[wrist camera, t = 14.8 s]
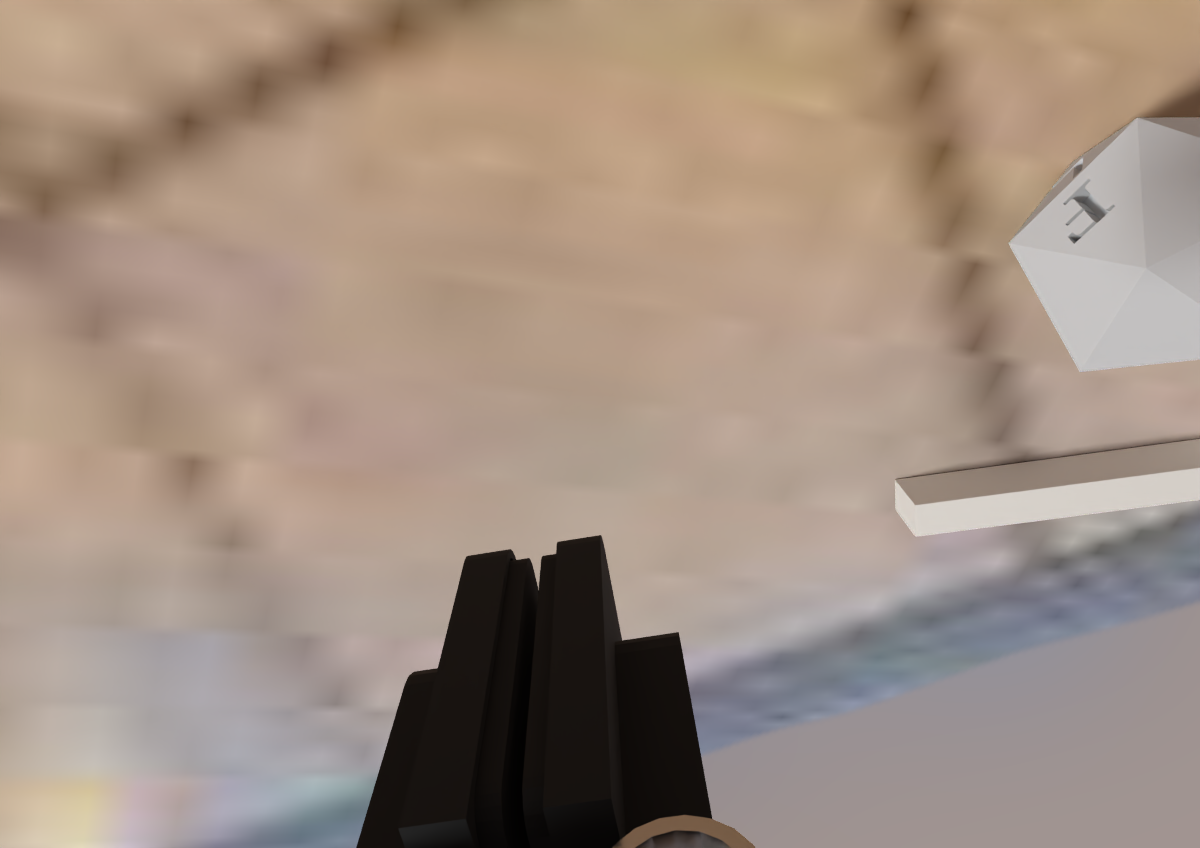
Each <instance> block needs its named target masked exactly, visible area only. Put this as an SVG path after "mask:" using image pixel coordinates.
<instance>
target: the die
mask: <svg viewBox="0 0 1200 848" xmlns="http://www.w3.org/2000/svg"><path fill="white" fill-rule="evenodd" d="M1008 244H1009V245H1010V247H1011V249H1012V251H1013V253H1014V254H1015V256H1016V258H1017V260H1018V262H1019V263H1020V265H1021V267H1022V269H1023V271H1024V272H1025V274H1026V276H1027V278H1028V280H1029V281H1030V283H1031V285H1032V287H1033V289H1034V290H1035V292H1036V294H1037V296H1038V298H1039V299H1040V301H1041V303H1042V305H1043V307H1044V308H1045V310H1046V312H1047V314H1048V315H1049V317H1050V319H1051V321H1052V323H1053V324H1054V326H1055V328H1056V330H1057V332H1058V333H1059V335H1060V337H1061V339H1062V341H1063V342H1064V344H1065V346H1066V348H1067V350H1068V351H1069V353H1070V355H1071V357H1072V359H1073V360H1074V362H1075V364H1076V366H1077V368H1078V369H1079V371H1080V372H1084V371H1094V370H1104V369H1113V368H1123V367H1132V366H1142V365H1151V364H1161V363H1170V362H1180V361H1189V360H1199V359H1200V117H1162V118H1136V119H1134V120H1133V121H1132V122H1130V123H1129V124H1127V125H1126V126H1124V127H1123V128H1121V129H1120V130H1118V131H1117V132H1115V133H1114V134H1112V135H1111V136H1109V137H1108V138H1107V139H1105V140H1104V141H1102V142H1101V143H1099V144H1098V145H1096V146H1095V147H1093V148H1092V149H1090V150H1089V151H1087V152H1086V153H1085V154H1083V155H1082V156H1080V157H1079V158H1077V159H1076V160H1074V161H1073V162H1072V163H1071V164H1070V165H1069V167H1068V168H1067V169H1066V171H1065V172H1064V173H1063V174H1062V176H1061V177H1060V178H1059V179H1058V181H1057V182H1056V183H1055V185H1054V186H1053V188H1052V189H1051V190H1050V191H1049V192H1048V193H1047V195H1046V196H1045V197H1044V199H1043V200H1042V201H1041V202H1040V204H1039V205H1038V206H1037V208H1036V209H1035V210H1034V211H1033V213H1032V214H1031V215H1030V216H1029V218H1028V219H1027V220H1026V222H1025V223H1024V224H1023V225H1022V227H1021V228H1020V229H1019V230H1018V232H1017V233H1016V234H1015V236H1014V237H1013V238H1012V239H1011V241H1010V242H1009V243H1008Z"/></svg>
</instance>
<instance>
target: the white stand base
mask: <svg viewBox="0 0 1200 848" xmlns="http://www.w3.org/2000/svg"><path fill="white" fill-rule="evenodd" d="M1195 500H1200V439H1195V440H1187V441H1180V442H1172V443H1165V444H1157V445H1150V446H1142V447H1135V448H1127V449H1120V450H1113V451H1105V452H1098V453H1090V454H1083V455H1075V456H1068V457H1060V458H1053V459H1045V460H1038V461H1030V462H1023V463H1016V464H1008V465H1001V466H993V467H986V468H978V469H971V470H963V471H956V472H948V473H941V474H933V475H926V476H918V477H911V478H904V479H896V480H895V509H896V511H897V512H898V514H899V515H900V516H901V518H902V519H903V520H904V522H905V523H906V524H907V526H908V527H909V529H910V530H911V531H912V533H913V534H914V535H915V537H918V536H926V535H933V534H941V533H949V532H957V531H964V530H972V529H980V528H987V527H995V526H1003V525H1010V524H1018V523H1026V522H1034V521H1041V520H1049V519H1057V518H1064V517H1072V516H1080V515H1087V514H1095V513H1103V512H1111V511H1118V510H1126V509H1134V508H1141V507H1149V506H1157V505H1164V504H1172V503H1180V502H1188V501H1195Z"/></svg>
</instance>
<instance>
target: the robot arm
mask: <svg viewBox="0 0 1200 848" xmlns="http://www.w3.org/2000/svg"><path fill="white" fill-rule="evenodd" d="M356 848H755V846H754V845H753V844H752V843H750V842H749V841H748V840H747V839H746V838H745V837H743V836H742V835H741V834H740V833H739V832H737V831H736V830H735V829H734V828H732V827H729V826H727V825H724V824H722V823H720V822H717V821H715V820H713V819H712V815H711V809H710V804H709V798H708V793H707V787H706V782H705V776H704V770H703V765H702V759H701V753H700V748H699V742H698V737H697V731H696V726H695V720H694V715H693V709H692V703H691V698H690V692H689V687H688V681H687V676H686V670H685V664H684V659H683V653H682V648H681V642H680V637H679V632H677V633H670V634H663V635H657V636H650V637H643V638H637V639H630V640H623V641H622V638H621V633H620V627H619V622H618V617H617V611H616V606H615V601H614V596H613V590H612V585H611V580H610V575H609V569H608V564H607V559H606V554H605V549H604V544H603V540H602V537H601V535H599V536H593V537H586V538H580V539H573V540H567V541H561V542H557V551H556V554H553V555H546V556H542V559H541V570H540V581H539V591H538V586H537V582H536V578H535V573H534V569H533V566H532V563H531V560H530V559H529V558H527V559H521V560H516V558H515V555H514V553H513V551H512V550H511V549H509V550H503V551H496V552H490V553H484V554H477V555H471V556H467V557H466V559H465V561H464V565H463V569H462V573H461V577H460V581H459V585H458V589H457V593H456V598H455V602H454V606H453V610H452V614H451V618H450V622H449V626H448V630H447V634H446V638H445V642H444V646H443V650H442V654H441V658H440V662H439V666H438V668H437V669H430V670H423V671H417V672H413V673H412V674H411V675H409V677H408V679H407V681H406V683H405V686H404V689H403V693H402V696H401V699H400V703H399V706H398V709H397V713H396V716H395V720H394V723H393V726H392V730H391V733H390V736H389V740H388V743H387V746H386V750H385V753H384V757H383V760H382V763H381V767H380V770H379V773H378V777H377V780H376V784H375V787H374V790H373V794H372V797H371V800H370V804H369V807H368V810H367V814H366V817H365V821H364V824H363V827H362V831H361V834H360V837H359V841H358V844H357V847H356Z"/></svg>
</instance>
